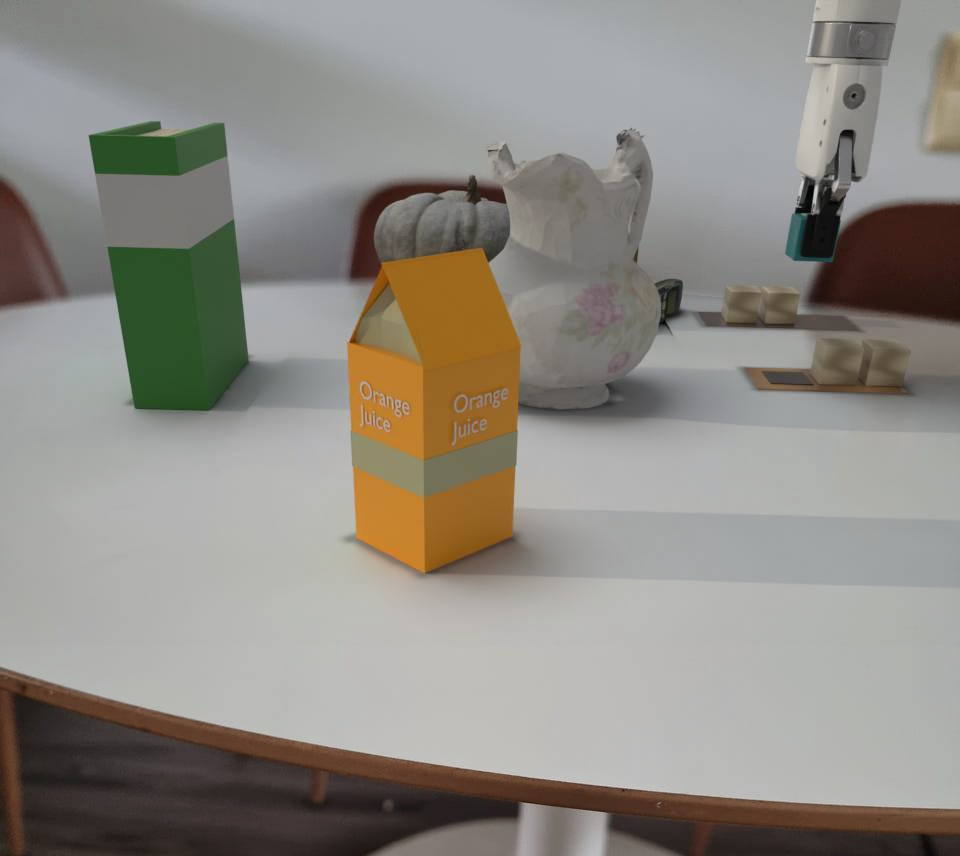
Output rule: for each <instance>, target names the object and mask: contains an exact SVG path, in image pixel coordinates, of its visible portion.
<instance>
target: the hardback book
mask: <svg viewBox="0 0 960 856" xmlns="http://www.w3.org/2000/svg"><path fill="white" fill-rule="evenodd" d="M88 140H89V146H90V153H91V158H92V165H93V171H94V177H95V182H96V187H97V188H96V189H97V193H98V200H99V205H100V206H99V207H100V211H101V218H102V223H103V230H104V235H105V236H104V237H105V241H106V247H107V253H108V259H109V265H110V271H111V276H112V283H113V288H114V289H113V290H114V295H115V300H116V306H117V312H118V318H119V324H120V331H121V336H122V341H123V347H124V353H125V359H126V366H127V372H128V378H129V383H130V389H131V396H132V401H133V402H132V403H133V407H134V409H149V410H188V411H189V410H191V411H210V410H212V407H213V406H214V405H215V404H216V403H217V402H218V400H219V399H220V397H221V396H223V394H224V392H225V391H226V390H227V389H228V387H229V386H230V385H231V384H232V382H233V381H234V380H235V379H236V377H237V376H238V375H239V374H240V372H241V371H242V370H243V368H244V367H245V366H246V365H247V364H248V362H249V360H250V359H249V358H250V357H249V349H248V348H249V347H248V340H247V339H248V338H247V329H246V321H245V310H244V301H243V292H242V281H241V273H240V263H239V262H240V261H239V253H238V243H237V234H236V224H235V215H234V203H233V195H232V193H233V192H232V185H231V176H230V165H229V155H228V145H227V136H226V127H225V122H212V123H209V124H206V125H201V126H198V127H194V128H192V129H177V128H176V129H175V128H173V129H172V128H162V123H161V121H160V120H149V121H145V122H141V123H137V124H132V125H128V126H122V127H118V128H113V129H110V130H105V131H100V132H97V133H92V134H88Z"/></svg>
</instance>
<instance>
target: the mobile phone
mask: <svg viewBox="0 0 960 856" xmlns="http://www.w3.org/2000/svg"><path fill="white" fill-rule="evenodd" d="M654 284H655V286H656V288H657V290H658V293H659V297H660V301H661V316H660V321H659V324H662V323H664V322H666V319H669V318H671V317H674V316H676V315H677V313H678V312H679V311H680V308H681V304H682V298H683V290H684V283H683V280H681V279H678V278H665V279H662V280H659V281H657V282H654Z"/></svg>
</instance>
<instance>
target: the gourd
mask: <svg viewBox="0 0 960 856" xmlns="http://www.w3.org/2000/svg"><path fill="white" fill-rule="evenodd" d="M509 236H510V213H509V210H508V206H507V203H501V202H498V201H492V200H489V199H488V198H486V197H482V195H481V192H480V189H479V186H478V180H477V178H476V175H474V174H470V175H469V176H468V181H467V191H465V190H447V191H444V192H441V193H438V194H437V193H434V192H423V193H417V194H413V195H410V196H408V197H406V198H405V199H400V200H397V201H394V202H393V203H390V204H389V205H388V206H386V207H385V208H384V210H382V212H381V213H380V215H379V216H378V218H377V221H376V224H375V227H374V232H373V242H374V243H373V244H374V248H375V252H376V255H377V259H378V261H379V263H380V265H381V267H382V264H381V263H384V262H390V261H397V260H404V259H410V258H417V257H424V256H430V255H437V254H444V253H450V252H457V251H463V250H470V249H477V248H483V251H484V253H485V256H486V258H487V261H488V263H489V262H490V261H491V260H493V259H494V258H495V257H496V256H497V255H498V254H499V253H500V252H501V251H502V250H503V249H504V247H505V245H506V243H507V241H508V238H509Z"/></svg>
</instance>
